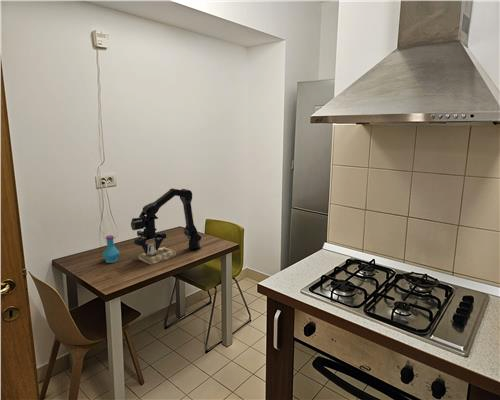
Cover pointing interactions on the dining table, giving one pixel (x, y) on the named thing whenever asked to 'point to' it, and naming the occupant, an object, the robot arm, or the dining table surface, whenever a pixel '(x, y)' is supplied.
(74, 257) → the dining table surface
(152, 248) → the grey cylinder
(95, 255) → the dining table surface
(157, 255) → the frame
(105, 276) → the dining table surface
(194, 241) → the robot arm
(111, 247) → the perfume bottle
